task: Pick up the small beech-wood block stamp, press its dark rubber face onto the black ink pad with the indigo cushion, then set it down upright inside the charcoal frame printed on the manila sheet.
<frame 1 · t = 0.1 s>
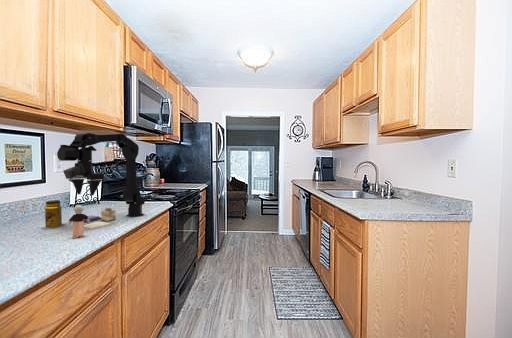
hand: (85, 194, 127), 15 cm above the worktop, fingers open, 9 cm apart
ink pad: (87, 220, 140), on the worktop
condiment: (54, 226, 128), on the worktop
print sheet: (95, 225, 130), on the worktop
stamp: (108, 220, 141), on the worktop
grandmother figurine: (79, 237, 110), on the worktop
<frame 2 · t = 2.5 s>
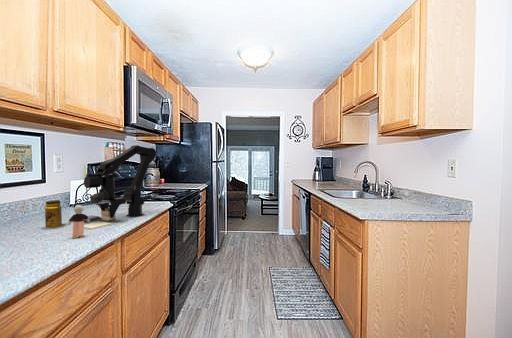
hand: (108, 217, 140), 2 cm above the worktop, fingers closed on stamp, 4 cm apart
stamp: (108, 220, 140), on the worktop, touching gripper
everything else where it was.
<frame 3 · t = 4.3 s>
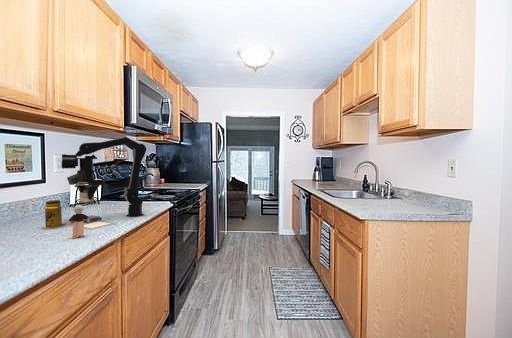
hand: (87, 199, 139), 11 cm above the worktop, fingers closed on stamp, 4 cm apart
stamp: (86, 202, 139), point 9 cm above the worktop, touching gripper
everything else where it was.
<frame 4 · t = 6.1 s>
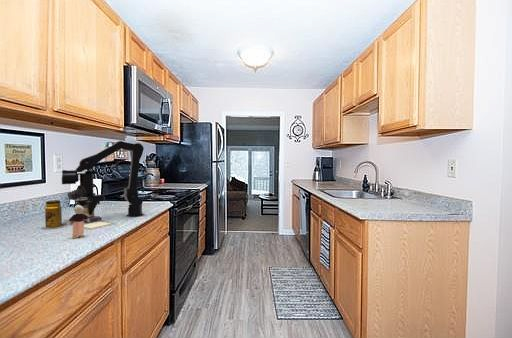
hand: (87, 214, 140), 3 cm above the worktop, fingers closed on stamp, 4 cm apart
stamp: (87, 217, 140), point 2 cm above the worktop, touching gripper, ink pad
everything else where it was.
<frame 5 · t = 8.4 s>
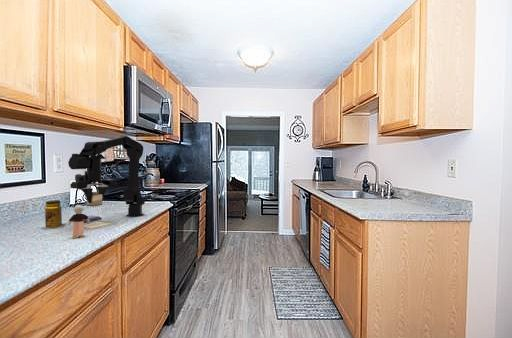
hand: (94, 202, 130), 11 cm above the worktop, fingers closed on stamp, 4 cm apart
stamp: (94, 205, 130), point 9 cm above the worktop, touching gripper
everything else where it was.
when the fingers open (3 cm above the worktop, at t = 10.1 s): stamp drops 1 cm, resting on print sheet.
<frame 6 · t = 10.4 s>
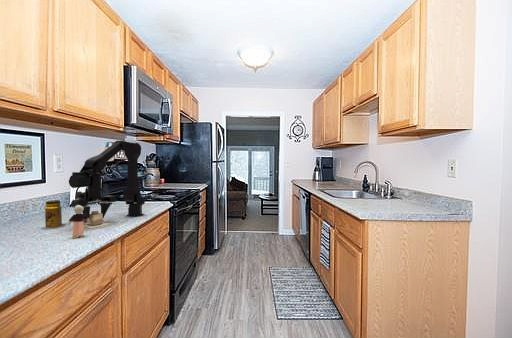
hand: (95, 219, 130), 3 cm above the worktop, fingers open, 7 cm apart
stamp: (95, 224, 130), resting on print sheet
everything else where it was.
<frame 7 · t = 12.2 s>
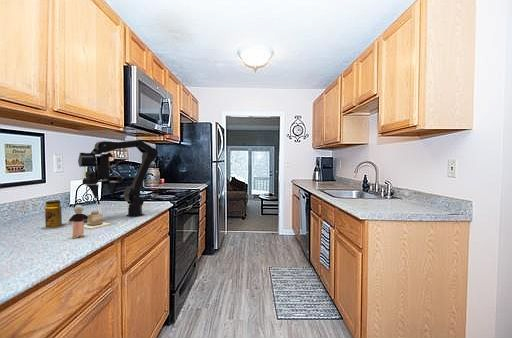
hand: (104, 196, 141), 12 cm above the worktop, fingers open, 9 cm apart
nothing on the worktop moved.
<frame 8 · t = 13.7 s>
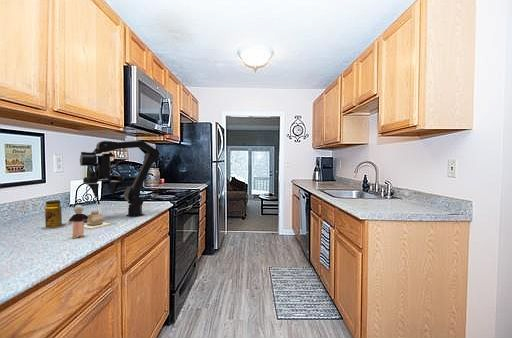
hand: (104, 196, 143), 12 cm above the worktop, fingers open, 9 cm apart
nothing on the worktop moved.
at the end: stamp inside the target area on the print sheet (0.1 cm from its centre), point 0.3 cm above the print sheet's base; stamp tilted 0°; the gripper is holding nothing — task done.
